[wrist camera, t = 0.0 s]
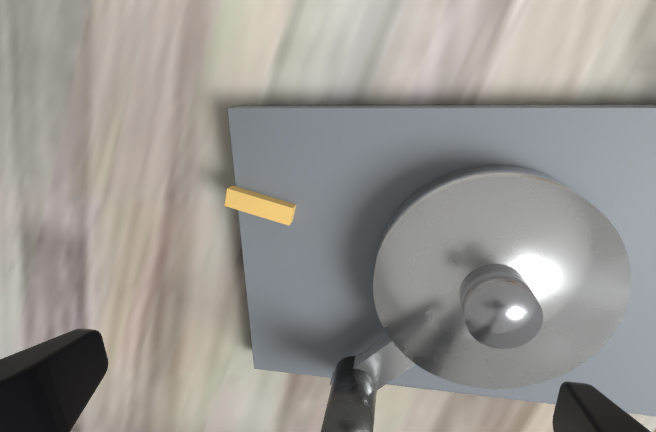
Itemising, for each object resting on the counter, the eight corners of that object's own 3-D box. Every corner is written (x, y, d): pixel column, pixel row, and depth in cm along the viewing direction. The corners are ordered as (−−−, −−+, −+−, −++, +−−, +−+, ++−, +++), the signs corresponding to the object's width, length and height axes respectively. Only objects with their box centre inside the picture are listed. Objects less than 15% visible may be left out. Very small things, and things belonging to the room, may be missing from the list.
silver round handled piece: (507, 113, 17) (548, 133, 12) (660, 284, 19) (754, 365, 14) (277, 309, 23) (241, 377, 18) (407, 429, 25) (407, 523, 20)
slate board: (689, 400, 22) (716, 432, 20) (255, 352, 27) (243, 374, 25) (802, 104, 17) (853, 109, 15) (230, 105, 21) (213, 109, 19)
